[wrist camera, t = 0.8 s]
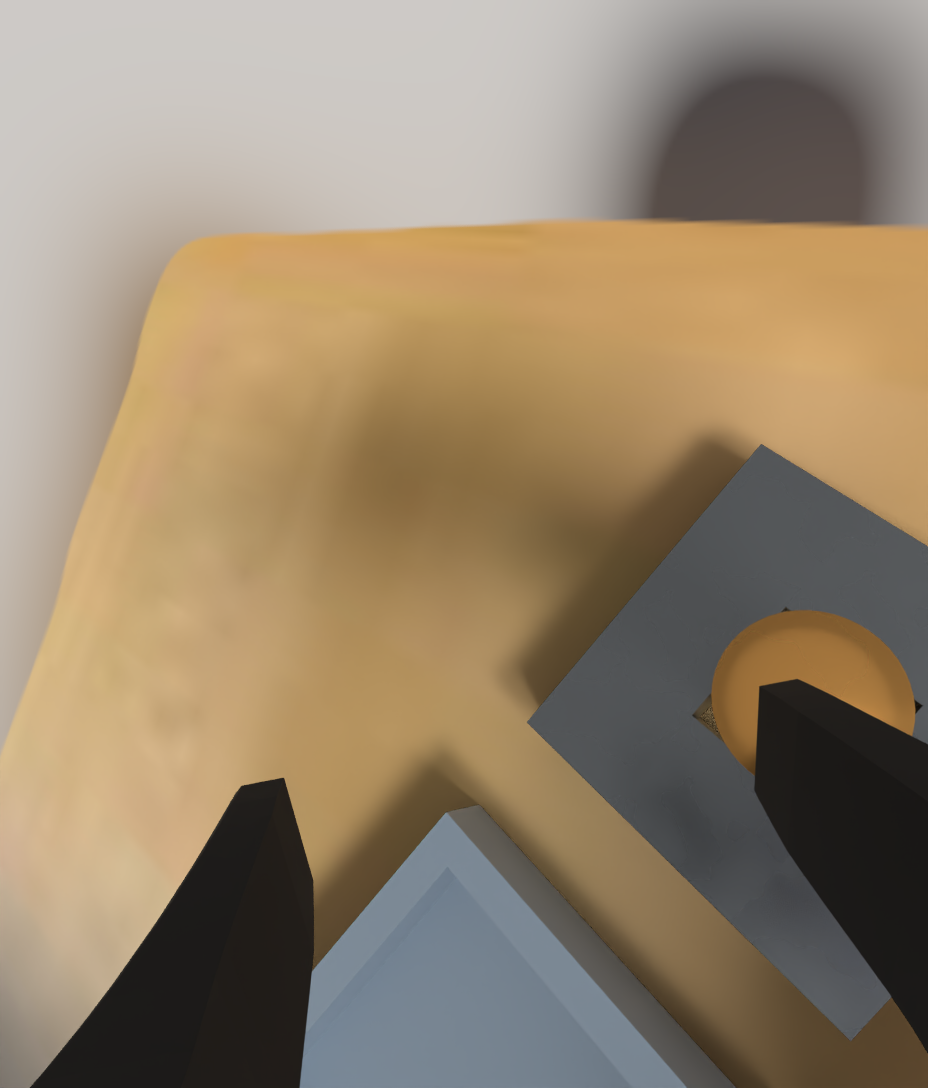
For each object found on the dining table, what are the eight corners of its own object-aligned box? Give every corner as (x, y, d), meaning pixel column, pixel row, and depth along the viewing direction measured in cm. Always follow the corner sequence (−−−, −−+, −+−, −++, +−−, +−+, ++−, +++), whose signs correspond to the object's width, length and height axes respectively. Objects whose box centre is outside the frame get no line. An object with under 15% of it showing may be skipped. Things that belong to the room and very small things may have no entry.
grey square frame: (1127, 699, 20) (1169, 695, 18) (843, 1009, 21) (850, 1040, 19) (762, 469, 26) (761, 443, 24) (547, 723, 27) (526, 722, 25)
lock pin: (898, 709, 23) (960, 694, 15) (812, 805, 23) (829, 840, 15) (786, 626, 24) (788, 574, 17) (708, 717, 25) (674, 707, 17)
